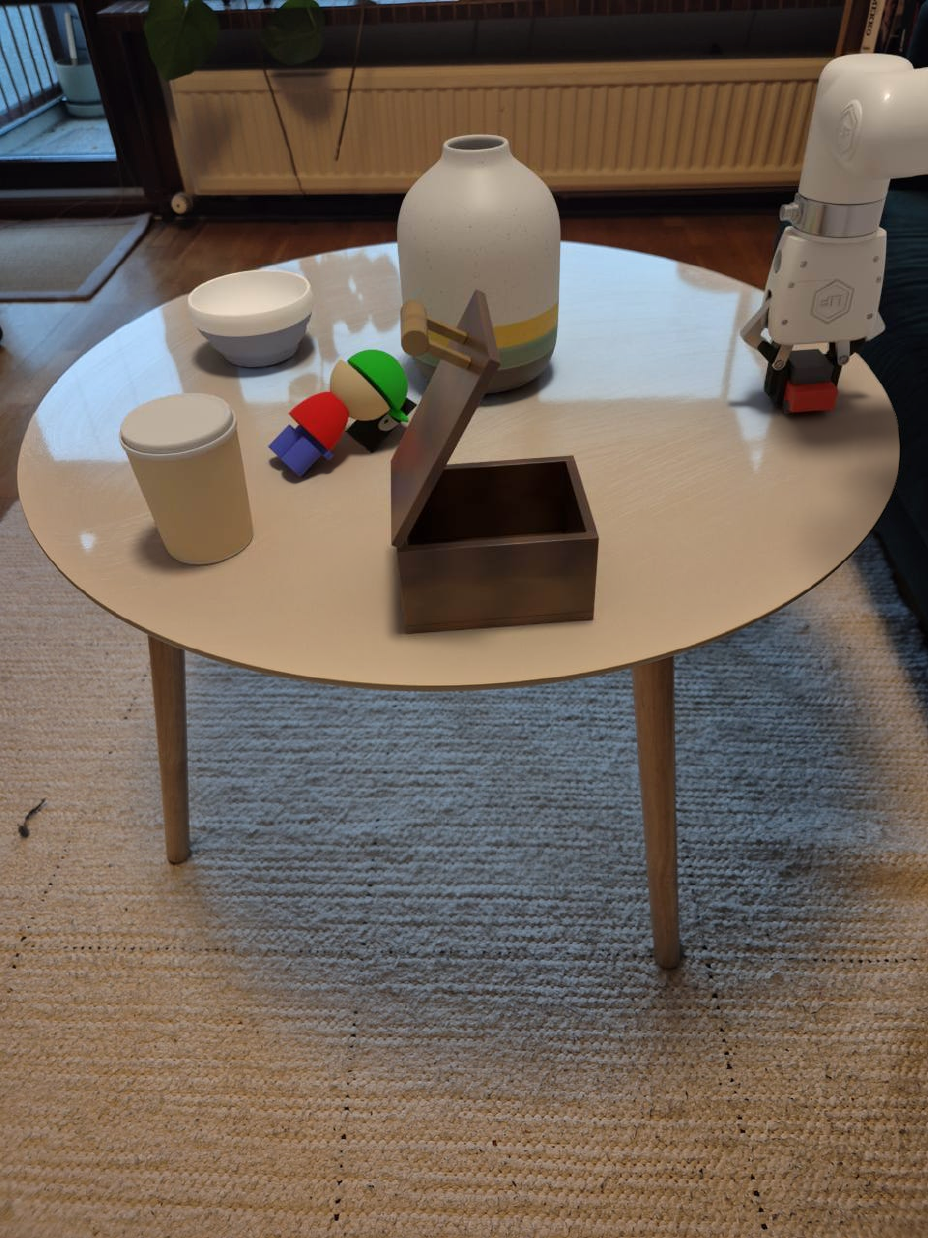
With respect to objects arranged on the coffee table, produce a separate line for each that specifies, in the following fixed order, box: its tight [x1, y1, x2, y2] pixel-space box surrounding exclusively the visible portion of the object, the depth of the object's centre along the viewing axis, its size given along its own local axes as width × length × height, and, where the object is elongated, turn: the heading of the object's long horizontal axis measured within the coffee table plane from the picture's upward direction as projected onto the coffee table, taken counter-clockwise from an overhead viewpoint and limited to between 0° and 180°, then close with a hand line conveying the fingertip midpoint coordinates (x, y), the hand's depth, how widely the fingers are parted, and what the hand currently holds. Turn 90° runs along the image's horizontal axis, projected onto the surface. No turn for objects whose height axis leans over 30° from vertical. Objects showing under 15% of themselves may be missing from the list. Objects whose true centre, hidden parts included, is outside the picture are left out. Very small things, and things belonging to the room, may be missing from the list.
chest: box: [396, 454, 600, 634], centre depth 71 cm, size 15×12×8 cm
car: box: [782, 348, 839, 414], centre depth 92 cm, size 8×5×5 cm, turn 4°
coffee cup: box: [118, 392, 254, 565], centre depth 75 cm, size 9×9×12 cm
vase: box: [396, 133, 562, 395], centre depth 94 cm, size 17×17×24 cm
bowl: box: [187, 269, 315, 368], centre depth 106 cm, size 14×14×8 cm
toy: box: [267, 349, 418, 478], centre depth 88 cm, size 8×8×15 cm
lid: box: [390, 289, 501, 549], centre depth 62 cm, size 15×12×6 cm
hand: (798, 396), depth 93 cm, fingers closed on car, 4 cm apart
